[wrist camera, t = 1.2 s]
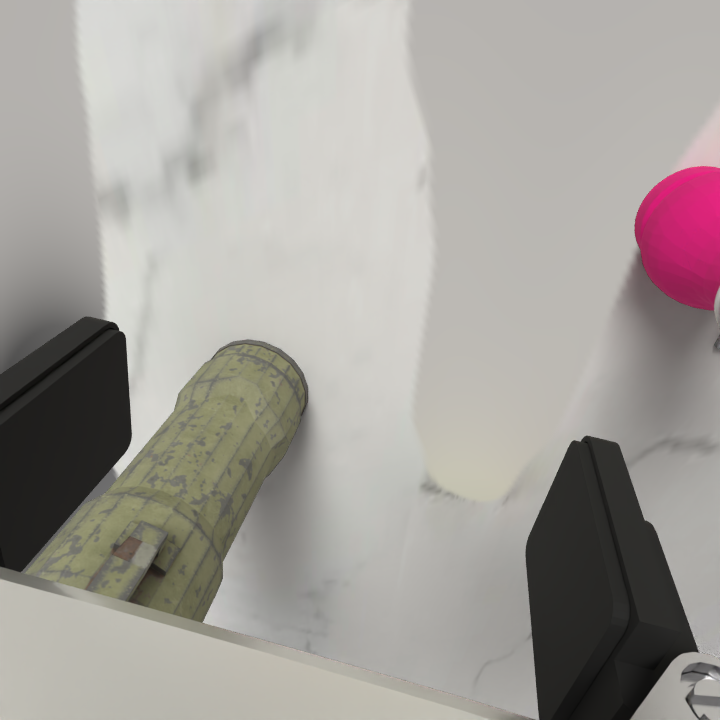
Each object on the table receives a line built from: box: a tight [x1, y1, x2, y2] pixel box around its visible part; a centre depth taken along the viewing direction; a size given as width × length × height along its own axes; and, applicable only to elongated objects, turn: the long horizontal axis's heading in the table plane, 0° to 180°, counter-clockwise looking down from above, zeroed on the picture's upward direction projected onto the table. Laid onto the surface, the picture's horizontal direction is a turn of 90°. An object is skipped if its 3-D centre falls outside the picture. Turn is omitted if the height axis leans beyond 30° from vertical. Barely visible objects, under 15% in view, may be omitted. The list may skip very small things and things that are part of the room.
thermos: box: [25, 340, 308, 623], centre depth 32 cm, size 9×12×35 cm
